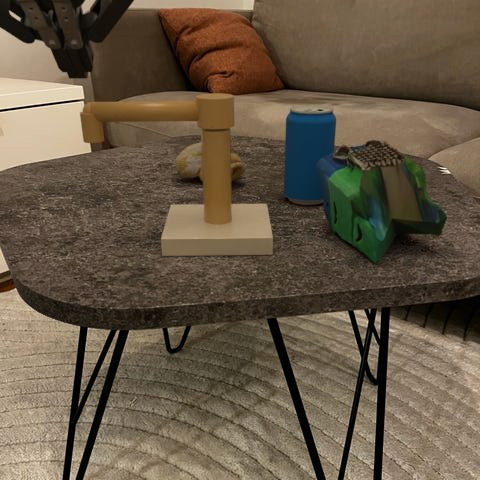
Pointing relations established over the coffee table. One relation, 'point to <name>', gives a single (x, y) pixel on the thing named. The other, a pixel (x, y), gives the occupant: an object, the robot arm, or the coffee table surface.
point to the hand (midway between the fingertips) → (79, 69)
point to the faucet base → (217, 212)
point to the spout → (158, 113)
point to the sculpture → (376, 197)
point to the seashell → (192, 163)
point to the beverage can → (307, 151)
